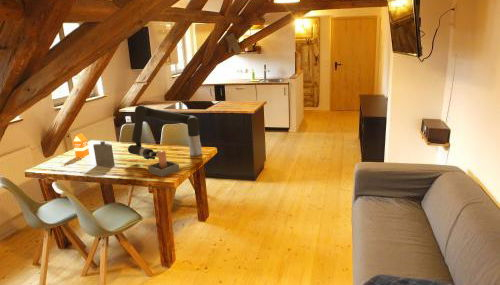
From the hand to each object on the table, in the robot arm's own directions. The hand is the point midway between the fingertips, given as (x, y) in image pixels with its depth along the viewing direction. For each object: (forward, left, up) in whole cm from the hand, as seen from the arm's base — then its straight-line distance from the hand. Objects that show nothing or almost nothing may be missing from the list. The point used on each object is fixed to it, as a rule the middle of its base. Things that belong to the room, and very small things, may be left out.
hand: (159, 156), depth 275 cm
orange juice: (+18, -89, -11) cm, 92 cm away
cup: (0, +4, -10) cm, 11 cm away
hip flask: (+19, -47, -11) cm, 52 cm away
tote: (0, +4, -11) cm, 12 cm away
